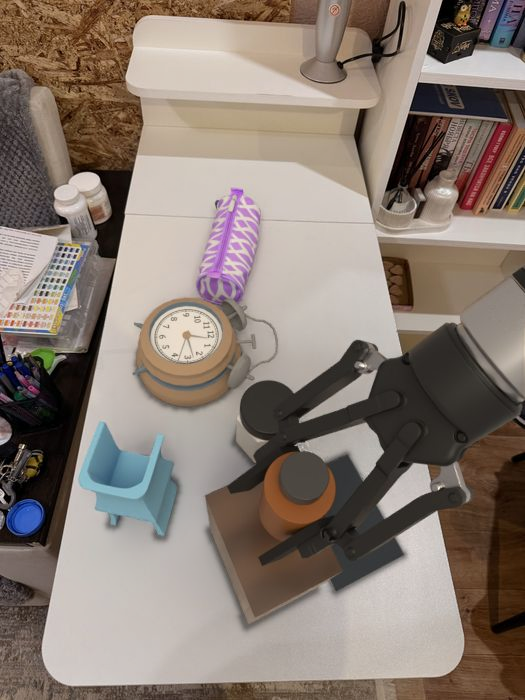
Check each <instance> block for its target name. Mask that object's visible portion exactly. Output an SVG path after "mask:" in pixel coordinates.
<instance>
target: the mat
mask: <svg viewBox="0 0 525 700" xmlns="http://www.w3.org/2000/svg"><path fill="white" fill-rule="evenodd" d="M353 463H354V462H353V461H352V459H351V457H350V456H349V454H346V455H344V456H342V457H340V458H337V459H336V460H335V459H334V460H333V461H331V462H329V463H325V464H326V465H327V466H328V467H329V469H330V470H331V472H332V474H333V477H334V480H335V485H336V493H335V499H334V502H333V504H332V506H331V508H330V509H329V511H328V512H327V514H326V515H325V516H324V518H326V517H329V516H333V515H334V517H335V516H336V514H337V513H338V512H339V511H340V509H341V508H342V507H343V506H344V504H345V503H346V502H347V501H348V500H349V498H350V497H351V496H352V495H353V493H354V492H355V491H356V490H357V488H358V487H359V486H360V485H361V483H362V482H363V481H364V480H363V479H362V477H361V476H360V474H359V472H358V470H357V468H356V467H355V465H354V464H353ZM384 519H385V518H384V516H383V514H382V513H381V511H380V509H379V507H378V506H377V505H376V506H375V507H374V509H373V510H372V511H371V512H370V513H369V515H368V516H367V517H366V518H365V519H364V521H363V522H362V523H361V524H360V525H359V527H358V528H357V529H356V530H357V531H358V532H359V533H360V534H361V535H362V534H363V533H365V532H366V531H368V530H369V529H371V528H372V527H374V526H375V525H377V524H378V523H380V522H381V521H383V520H384ZM331 548H332V550H333V552H334V554H335V556H336V558H337V560H338V562H339V564H340V566H341V568H342V570H343V571H342V572H341V573H339V574H338V575H336V576H335V577H333V578H331V579H330V582H331V584H332V586H333V587H334V590H335V591H336V592H338V591H340V590H342V589H344V588H345V587H347V586H349V585H351V584H353V583H355V582H357V581H359V580H360V579H362V578H364V577H366V576H368V575H370V574H371V573H373V572H375V571H377V570H378V569H379V570H380V569H381V568H382V567H384V566H386V565H388V564H390V563H392V562H394V561H395V560H397V559H399V558H401V557H403V556H404V555H405V554H404V552H403V550H402V548H401V547H400V545H399V543H398V540H397V539H396V537H395V538H393V539H392V540H390V541H389V542H387V543H386V544H384V545H382V546H381V547H379V548H378V549H376V550H375V551H373V552H371V553H370V554H368V555H366V556H363V557H361V558H359V559H357V560H355V561H350V560H348V559H347V558H346V556H345V554H344V550H343V549H342V548H341V547H340V546H339V545H337V544H334V545H332V546H331Z"/></svg>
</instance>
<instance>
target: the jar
mask: <svg viewBox="0 0 525 700" xmlns="http://www.w3.org/2000/svg"><path fill="white" fill-rule="evenodd" d="M294 393H295V392H294V391H293V390H292V389H291V388H290V387H289V386H287V385H286V384H284V383H283V382H280V381H277V380H273V379H272V380H271V379H269V380H268V379H267V380H266V379H265V380H260V381H257V382H254V383H253V384H251V385H250V386H249V387H248V388H247V389H245V391H244V392H243V394H242V395H241V399H240V402H239V412H238V414H237V417H236V429H235V431H236V432H235V433H236V435H235V442H236V443H237V445H238V446H239V447H240V448H241V449H242V450H243V451H244V452H245V454H246V455H247V456H248V457H249V458H250V460H252V463H255V464H257V463H256V461H255V459H254V457H253V455H254V453H255V452H256V450H258V449H259V448H260V447H261V446H263V445H264V444H265V443H267V442H268V441H269V440H271V439H272V438H273V437H275V436H276V434H277V433H278V422H277V420H276V419H275V418H274V417H273V410H274V408H275V407H276V406H278V405H279V404H280V403H282V402H283V401H285V400H286V399H287V398H289V397H290V396H291V395H293V394H294Z"/></svg>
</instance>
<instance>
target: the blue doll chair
mask: <svg viewBox="0 0 525 700" xmlns="http://www.w3.org/2000/svg"><path fill="white" fill-rule="evenodd" d="M164 439H165V434H162V433H157V434H156V437H155V439H154V444H153V447H152V449H151V453H150V455H146V454H145V455H144V454H140V453H136V452H131V451H127V450H124V449H123V450H122V449H121V448H119V447H118V445H117V443H116V441H115V439H114V437H113V435H112V433H111V430H110V428H109V427H108V425H107V423H106V422H105V421H100V420H99V421H98V423H97V425H96V428H95V431H94V433H93V435H92V438H91V441H90V444H89V446H88V449H87V452H86V454H85V457H84V460H83V462H82V464H81V467H80V470H79V474H78V477H77V482H78V485H79V486H80V487H81V488H82V489H84V490H86V491H90V492H93V493H95V496H96V500H95V504H94V510H95V511H96V512H101V513H106V514H107V515H109V517H110V525H111V526H117V523H118V520H119V517H120V516H121V517H126V518H131V519H136V520H139V521H144V522H149V523H151V524H152V525H153V527H154V529H155V531H156V533H157V535H158V536H161V537H165V535H166V531H167V528H168V525H169V521H170V517H171V514H172V510H173V507H174V502H175V500H176V495H177V491H178V486H177V484H176V482H175V481H174V480H172V473H173V469H174V465H175V462H174V460H171V459H170V460H169V459H167V458H165V457H164V456H163V455H162V446H163V442H164Z"/></svg>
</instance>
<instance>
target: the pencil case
mask: <svg viewBox="0 0 525 700" xmlns="http://www.w3.org/2000/svg"><path fill="white" fill-rule="evenodd" d="M244 191H245V190H244V189H243V188H239V187H230V194H228V195H224V196H223V197H221V198H220V199H216V200H215V201H214V207H215V209H216V213H215V216H214V220H213V223H212V226H211V229H210V234H209V237H208V239H207V242H206V245H205V249H204V253H203V256H202V260H201V263H200V265H199V272H198V276H197V278H196V283H195V284H196V290H197V293H198V295H200V297H201V298H202V300H205V301H208V302H210V303H212V304H214V305H217V306H218V305H220V306H222V305H221V304H222V301H223V300H225V299H231V300H234V301H235V302H236V303H238V304H239V303H240V302H241V301H242V299H243V297H244V290H245V287H246V285H247V282H248V279H249V276H250V274H251V272H252V268H253V264H254V260H255V256H256V250H257V246H258V242H259V232H260V225H261V218H262V211H261V208H260V206H259V205H258V203H257V202H256V201H254V200H253V199H252V198H251V197H249V196H246V195H244V194H245V193H244Z"/></svg>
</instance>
